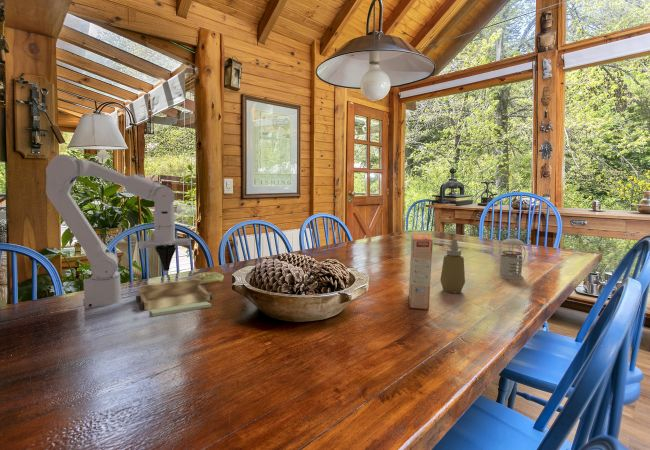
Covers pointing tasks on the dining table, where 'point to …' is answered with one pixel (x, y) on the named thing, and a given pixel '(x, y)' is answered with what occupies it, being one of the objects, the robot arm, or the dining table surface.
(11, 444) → the dining table surface
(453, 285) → the squeeze bottle
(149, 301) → the cart
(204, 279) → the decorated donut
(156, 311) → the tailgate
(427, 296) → the cracker box
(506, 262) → the french press
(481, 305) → the dining table surface
